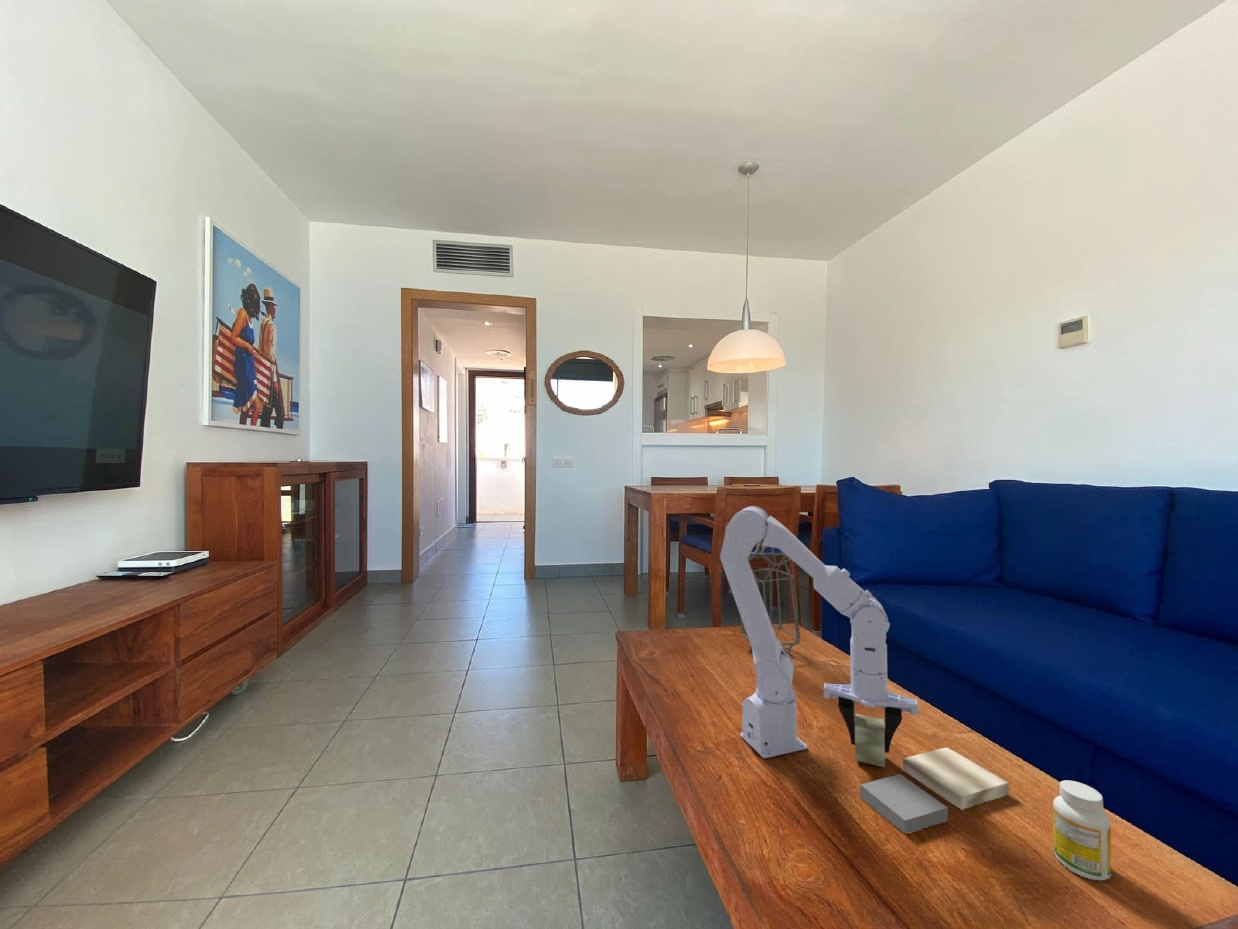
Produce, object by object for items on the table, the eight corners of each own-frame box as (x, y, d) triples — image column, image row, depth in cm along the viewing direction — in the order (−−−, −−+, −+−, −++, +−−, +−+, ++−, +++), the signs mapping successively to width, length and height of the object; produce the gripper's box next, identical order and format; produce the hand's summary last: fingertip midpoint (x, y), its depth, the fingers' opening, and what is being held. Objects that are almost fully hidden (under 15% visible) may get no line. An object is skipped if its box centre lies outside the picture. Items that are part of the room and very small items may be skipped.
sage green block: (855, 760, 83) (854, 725, 83) (855, 746, 87) (855, 713, 87) (884, 767, 81) (884, 732, 81) (884, 753, 85) (883, 719, 85)
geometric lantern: (812, 660, 127) (808, 529, 127) (759, 668, 123) (755, 533, 123) (777, 639, 143) (774, 521, 142) (730, 646, 138) (726, 525, 138)
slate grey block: (905, 835, 67) (905, 820, 67) (860, 797, 74) (860, 784, 74) (947, 821, 69) (947, 807, 69) (900, 786, 77) (900, 774, 77)
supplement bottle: (1085, 885, 59) (1083, 806, 59) (1042, 850, 64) (1041, 778, 64) (1124, 881, 59) (1122, 803, 59) (1078, 846, 64) (1077, 775, 64)
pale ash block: (961, 810, 71) (961, 797, 71) (903, 770, 81) (902, 758, 81) (1008, 795, 74) (1008, 782, 74) (947, 758, 84) (946, 747, 84)
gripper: (822, 669, 84) (823, 747, 84) (919, 685, 77) (920, 770, 77) (825, 654, 90) (826, 727, 90) (915, 669, 83) (916, 747, 83)
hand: (869, 745), depth 84 cm, fingers closed on sage green block, 4 cm apart
